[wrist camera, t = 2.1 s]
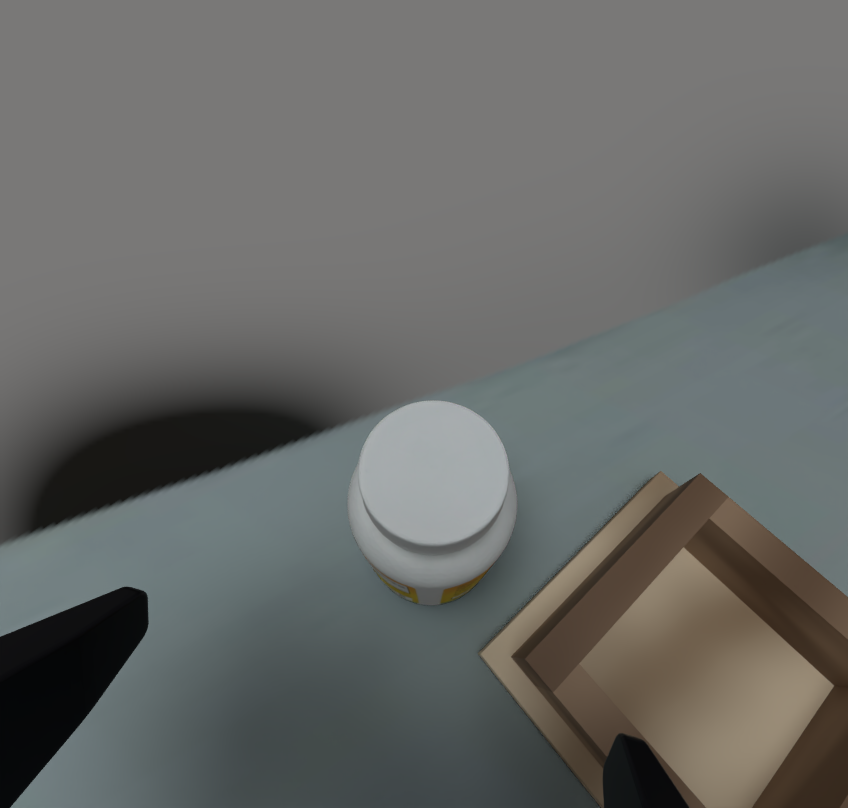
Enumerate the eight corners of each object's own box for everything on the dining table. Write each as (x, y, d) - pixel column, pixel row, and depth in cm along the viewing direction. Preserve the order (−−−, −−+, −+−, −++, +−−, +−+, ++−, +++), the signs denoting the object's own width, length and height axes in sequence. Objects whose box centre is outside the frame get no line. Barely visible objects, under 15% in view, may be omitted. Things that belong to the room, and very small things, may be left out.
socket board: (887, 690, 18) (1008, 702, 14) (720, 956, 15) (818, 1063, 11) (649, 479, 22) (694, 444, 18) (477, 653, 19) (488, 655, 15)
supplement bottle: (364, 602, 20) (311, 569, 11) (377, 479, 22) (341, 374, 13) (494, 609, 19) (542, 581, 11) (491, 484, 22) (530, 381, 13)
